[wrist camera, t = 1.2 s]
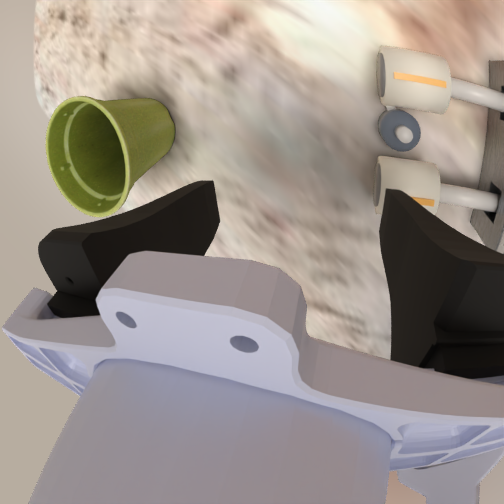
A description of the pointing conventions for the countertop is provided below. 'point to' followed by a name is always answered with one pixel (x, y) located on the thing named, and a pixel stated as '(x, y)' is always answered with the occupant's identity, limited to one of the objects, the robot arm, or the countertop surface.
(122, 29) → the countertop surface
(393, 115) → the potentiometer
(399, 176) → the knob
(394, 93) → the knob
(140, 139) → the plant pot
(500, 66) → the panel
